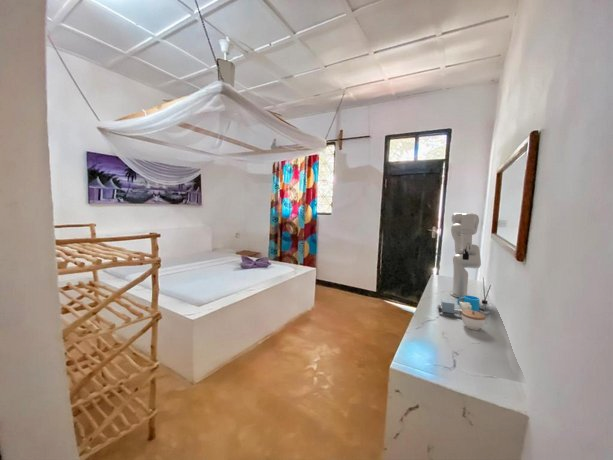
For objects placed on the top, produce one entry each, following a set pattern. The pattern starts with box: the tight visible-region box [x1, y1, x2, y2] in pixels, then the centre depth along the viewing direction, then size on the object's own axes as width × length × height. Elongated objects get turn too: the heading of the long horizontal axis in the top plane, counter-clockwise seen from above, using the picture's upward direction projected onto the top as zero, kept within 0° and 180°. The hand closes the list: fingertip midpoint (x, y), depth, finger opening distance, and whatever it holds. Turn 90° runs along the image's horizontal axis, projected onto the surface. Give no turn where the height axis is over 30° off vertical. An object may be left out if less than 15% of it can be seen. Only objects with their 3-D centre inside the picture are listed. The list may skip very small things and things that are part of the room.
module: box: [440, 298, 456, 313], centre depth 153 cm, size 7×6×6 cm
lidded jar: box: [461, 310, 486, 331], centre depth 133 cm, size 11×11×9 cm
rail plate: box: [436, 301, 472, 320], centre depth 151 cm, size 14×18×7 cm
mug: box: [456, 295, 480, 312], centre depth 158 cm, size 12×8×8 cm
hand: (465, 259), depth 161 cm, fingers closed
